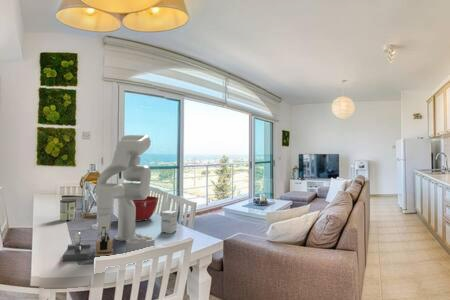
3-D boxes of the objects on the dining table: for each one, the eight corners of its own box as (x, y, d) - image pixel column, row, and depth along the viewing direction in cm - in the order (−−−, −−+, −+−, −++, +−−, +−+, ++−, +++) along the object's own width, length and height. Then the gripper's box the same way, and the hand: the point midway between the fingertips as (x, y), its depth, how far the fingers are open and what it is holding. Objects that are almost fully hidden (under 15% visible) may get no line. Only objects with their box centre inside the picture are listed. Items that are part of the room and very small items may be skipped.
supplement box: (160, 232, 183) (161, 212, 183) (167, 229, 189) (167, 210, 190) (170, 234, 180) (171, 213, 180) (177, 231, 187) (177, 211, 187)
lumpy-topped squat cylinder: (156, 254, 143) (156, 236, 143) (128, 259, 136) (129, 240, 136) (149, 248, 152) (149, 231, 152) (123, 253, 145) (123, 235, 145)
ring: (97, 248, 146) (98, 238, 147) (112, 247, 148) (113, 237, 149) (95, 252, 140) (96, 241, 140) (111, 251, 142) (111, 240, 142)
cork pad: (96, 251, 147) (96, 249, 147) (113, 249, 149) (113, 248, 149) (94, 256, 139) (94, 255, 139) (112, 255, 141) (112, 253, 141)
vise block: (68, 253, 143) (69, 230, 143) (91, 251, 146) (91, 229, 146) (62, 261, 132) (63, 237, 132) (87, 260, 135) (87, 235, 135)
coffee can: (65, 217, 218) (66, 198, 218) (78, 218, 217) (79, 199, 217) (56, 220, 208) (56, 200, 208) (70, 221, 207) (70, 201, 207)
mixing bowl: (111, 218, 218) (112, 197, 218) (147, 213, 237) (147, 194, 237) (127, 226, 197) (128, 202, 197) (165, 220, 216) (165, 199, 216)
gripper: (99, 207, 152) (98, 242, 151) (94, 214, 135) (93, 253, 135) (114, 207, 154) (114, 241, 154) (111, 214, 137) (111, 252, 137)
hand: (104, 246), depth 144 cm, fingers closed on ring, 7 cm apart
